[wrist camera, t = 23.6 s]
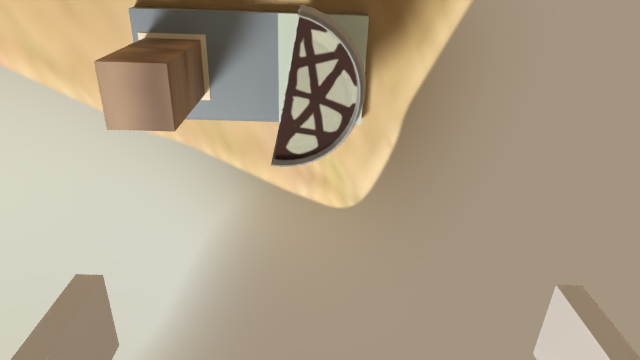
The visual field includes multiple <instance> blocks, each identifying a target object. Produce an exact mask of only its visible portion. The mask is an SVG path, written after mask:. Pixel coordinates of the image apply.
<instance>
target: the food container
mask: <svg viewBox="0 0 640 360" xmlns="http://www.w3.org/2000/svg"><path fill="white" fill-rule="evenodd" d="M298 16H299V21H298V26H297V29H296V31H297V33H296V38H295V42H294V48H293V52H292V54H293V55H292V61H291V67H290V71H289V76H288V83H287V89H286V92H285V100H284V101H283V102H284V106H283V109H282V111H283V112H282V115H281V121H280V126H279V130H278V135H277V140H276V144H275V149H274V153H273V158H272V163H271V166H281V167H285V166H297V165H303V164H307V163H310V162H313V161H316V160H318V159H320V158H322V157H324V156H326V155H328V154H329V153H331V152H332V151H333V150H335V149H336V148H337V147H338V146H339V145H340V144H341V143H342V142H344V141H345V139H346V138H347V137H348V135H349V134H350V133H351V131H352V130H353V128H354V126H355V124H356V122H357V120H358V118H359V116H360V113H361V110H362V107H363V104H364V99H365V93H366V77H365V70H364V65H363V62H362V59H361V56H360V53H359V51H358V49H357V47H356V45H355V43H354V42H353V40H352V39H351V38H350V36H349V35H348V33H347V32H346V31H345V30H344V29H343V28H342V27H341V26H340V25H339V24H338V23H337V22H336V21H335V20H333V19H332V18H331V17H329V16H328V15H326V14H325V13H323V12H321V11H319V10H317V9H315V8H313V7H310V6H307V5H304V4H300V7H299V11H298Z"/></svg>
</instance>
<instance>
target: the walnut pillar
mask: <svg viewBox="0 0 640 360" xmlns="http://www.w3.org/2000/svg"><path fill="white" fill-rule="evenodd" d="M94 63H95V68H96V74H97V79H98V84H99V89H100V95H101V100H102V105H103V110H104V116H105V121H106V126H107V129H109V130H144V131H175V130H176V129H177V128H178V127H179V126H180V124H181V123H182V122H183V121H184V119H185V118H186V117H187V116H188V115H189V113H190V112H191V111H192V110H193V108H194V107H195V106H196V105H197V104H198V102H199V101H200V100H201V99H202V98H203V96H204V95H205V88H204V76H203V65H202V53H201V41H200V40H192V39H161V38H143V39H141V40H139V41H137V42H135V43H132V44H130V45H128V46H126V47H124V48H122V49H120V50H117V51H115V52H113V53H111V54H109V55H107V56H105V57H102V58H100V59H98V60H96V61H94Z"/></svg>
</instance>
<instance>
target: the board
mask: <svg viewBox="0 0 640 360" xmlns="http://www.w3.org/2000/svg"><path fill="white" fill-rule="evenodd" d="M129 14H130V21H131V28H132V34H133V41H134V43H135V42H137V41H139V40H141V39H143V38H161V39H192V40H200V41H201V53H202V65H203V76H204V88H205V95H204V96H203V98H202V99H201V100H200V101H199V102H198V104H197V105H196V106H195V107H194V108H193V110H192V111H191V112H190V113H189V115H188V116H187V117H186V118H185V119H195V120H231V121H266V122H280V121H281V115H282V112H283V111H282V109H283V106H284V102H283V101H284V100H285V92H286V89H287V83H288V76H289V71H290V67H291V61H292V55H293V54H292V52H293V48H294V42H295V38H296V33H297V31H296V29H297V26H298V21H299V16H298V12H274V11H243V10H212V9H182V8H151V7H132V8H129ZM325 14H326V15H328V16H329V17H331V18H332V19H333V20H335V21H336V22H337V23H338V24H339V25H340V26H341V27H342V28H343V29H344V30H345V31H346V32H347V33H348V35H349V36H350V38H351V39H352V40H353V42H354V43H355V45H356V47H357V49H358V51H359V53H360V56H361V59H362V62H363V65H364V70H365V65H366V52H367V39H368V26H369V15H366V14H335V13H325ZM361 118H362V110H361V113H360V116H359V118H358V120H357V122H356V124H360V125H361Z"/></svg>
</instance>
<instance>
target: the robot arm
mask: <svg viewBox="0 0 640 360" xmlns="http://www.w3.org/2000/svg"><path fill="white" fill-rule="evenodd" d="M118 346H119V343H118V339H117V334H116V330H115V325H114V321H113V317H112V313H111V308H110V304H109V299H108V295H107V291H106V287H105V282H104V278H103V275H79V274H76V275H75V276H74V278H73V279H72V280H71V281H70V283H69V284H68V285H67V287H66V288H65V289H64V291H63V292H62V294H61V295H60V296H59V297H58V299H57V300H56V301H55V302H54V304H53V305H52V306H51V308H50V309H49V310H48V312H47V313H46V314H45V316H44V317H43V318H42V320H41V321H40V322H39V324H38V325H37V326H36V327H35V329H34V330H33V331H32V333H31V334H30V335H29V337H28V338H27V339H26V341H25V342H24V343H23V344H22V346H21V347H20V348H19V350H18V351H17V352H16V354H15V355H14V356H13V358H12V359H11V360H112V358H113V356H114V354H115V352H116V350H117V348H118ZM533 354H534V356H535V357H536V359H537V360H640V357H639V356H638V355H637V353H636V352H635V351H634V350H633V348H632V347H631V346H630V345H629V343H627V341H626V340H625V338H624V337H623V336H622V335H621V333H620V332H619V331H618V330H617V328H616V327H615V326H614V325H613V323H612V322H611V321H610V320H609V318H608V317H607V316H606V315H605V313H604V312H603V311H602V310H601V308H600V307H599V306H598V305H597V303H596V302H595V301H594V300H593V299H592V297H591V296H590V295H589V294H588V292H587V291H586V290H585V289H584V287H583V286H572V285H556V288H555V290H554V293H553V296H552V299H551V302H550V305H549V308H548V311H547V314H546V317H545V320H544V323H543V326H542V329H541V332H540V335H539V338H538V341H537V344H536V347H535V350H534V353H533Z"/></svg>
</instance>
